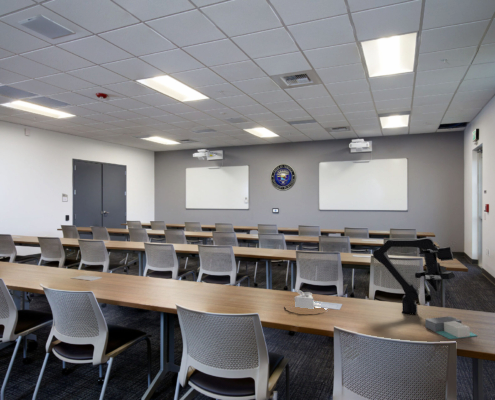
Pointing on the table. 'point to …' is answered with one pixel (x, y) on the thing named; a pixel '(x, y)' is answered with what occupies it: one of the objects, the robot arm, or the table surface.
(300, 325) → the table surface
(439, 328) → the plinth
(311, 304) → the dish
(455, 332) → the card box
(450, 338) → the mat
